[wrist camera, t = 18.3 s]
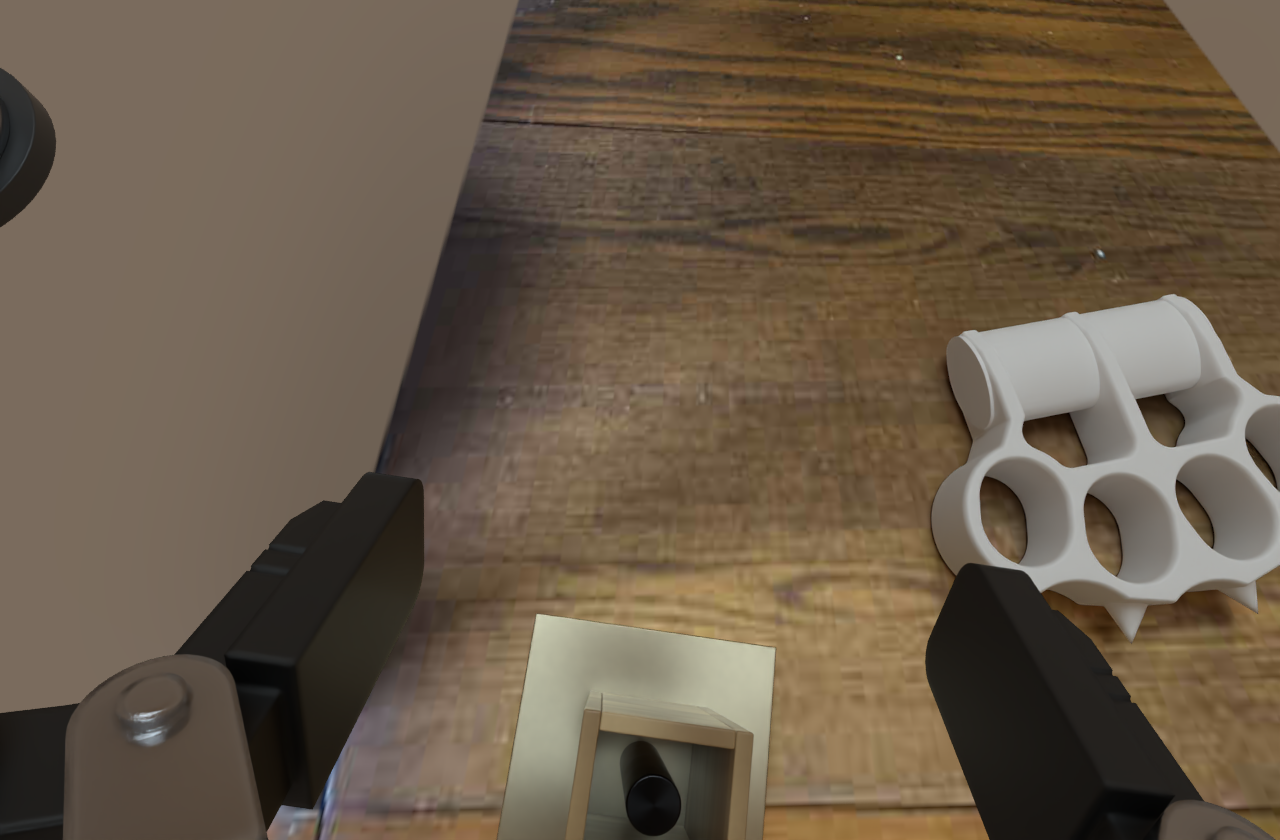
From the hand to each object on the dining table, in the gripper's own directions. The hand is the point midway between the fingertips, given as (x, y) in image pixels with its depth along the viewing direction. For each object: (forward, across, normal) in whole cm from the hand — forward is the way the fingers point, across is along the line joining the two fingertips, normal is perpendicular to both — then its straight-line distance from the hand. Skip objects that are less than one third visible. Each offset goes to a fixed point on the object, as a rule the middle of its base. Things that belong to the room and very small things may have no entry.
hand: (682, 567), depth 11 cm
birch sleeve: (+10, -1, +18) cm, 20 cm away
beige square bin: (+11, -1, +18) cm, 21 cm away
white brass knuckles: (+22, -21, +8) cm, 31 cm away
